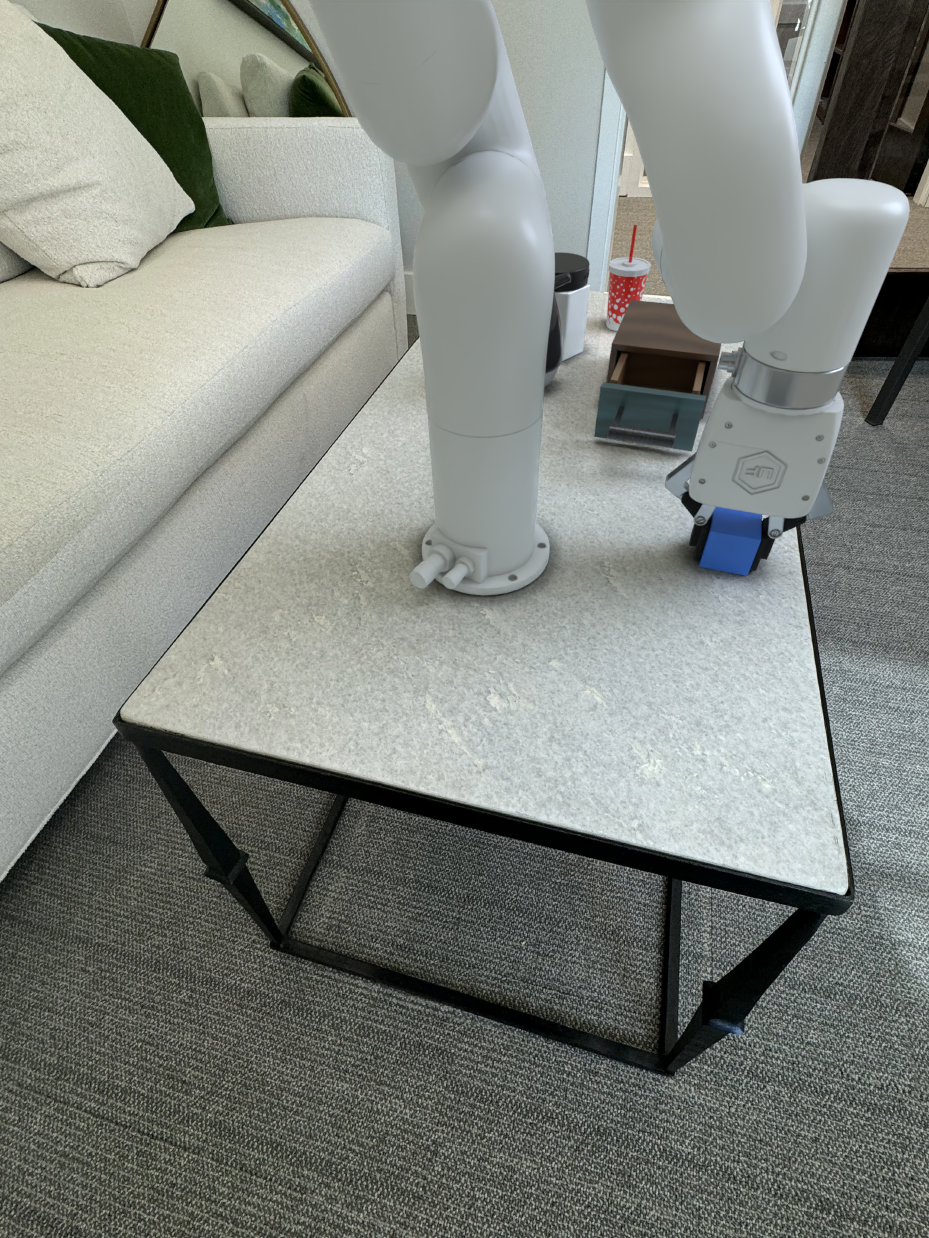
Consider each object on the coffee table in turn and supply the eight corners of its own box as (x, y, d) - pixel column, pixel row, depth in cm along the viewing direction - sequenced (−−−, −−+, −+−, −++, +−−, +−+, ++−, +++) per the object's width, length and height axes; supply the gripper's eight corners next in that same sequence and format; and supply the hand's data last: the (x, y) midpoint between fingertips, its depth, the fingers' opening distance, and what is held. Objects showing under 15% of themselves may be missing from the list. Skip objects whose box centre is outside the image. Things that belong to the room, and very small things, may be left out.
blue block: (747, 576, 61) (761, 540, 58) (699, 567, 62) (710, 531, 59) (749, 547, 64) (762, 511, 60) (703, 539, 65) (714, 503, 61)
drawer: (686, 480, 70) (700, 427, 66) (583, 463, 73) (589, 412, 69) (702, 397, 83) (714, 349, 78) (613, 386, 86) (620, 338, 81)
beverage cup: (627, 337, 98) (643, 234, 88) (593, 327, 101) (605, 226, 91) (647, 324, 102) (665, 223, 92) (614, 315, 104) (627, 216, 94)
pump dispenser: (557, 405, 84) (568, 281, 73) (480, 399, 86) (478, 277, 75) (565, 370, 91) (575, 252, 80) (493, 365, 93) (493, 249, 82)
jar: (589, 358, 94) (600, 269, 85) (536, 365, 93) (541, 275, 84) (569, 334, 100) (577, 248, 91) (519, 340, 99) (522, 254, 90)
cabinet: (702, 419, 81) (719, 355, 75) (603, 405, 84) (611, 343, 78) (711, 368, 90) (727, 309, 85) (622, 358, 94) (630, 299, 88)
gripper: (669, 382, 49) (631, 563, 62) (916, 413, 45) (819, 600, 58) (680, 342, 54) (642, 518, 67) (904, 367, 50) (817, 549, 63)
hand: (725, 554), depth 62 cm, fingers closed on blue block, 4 cm apart
